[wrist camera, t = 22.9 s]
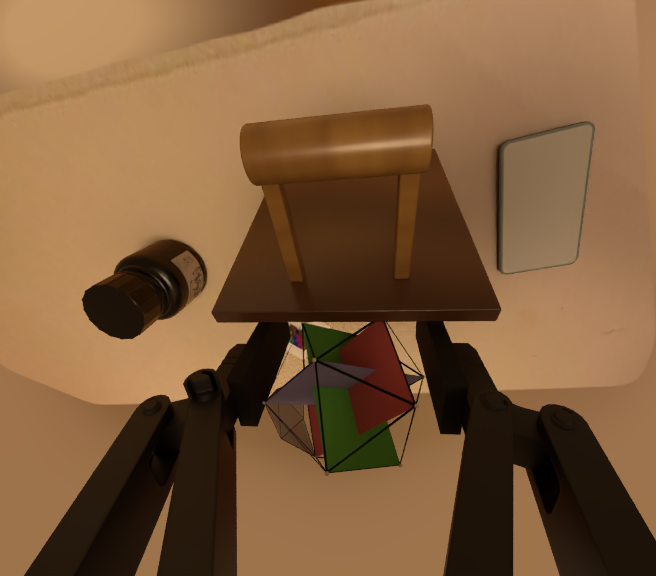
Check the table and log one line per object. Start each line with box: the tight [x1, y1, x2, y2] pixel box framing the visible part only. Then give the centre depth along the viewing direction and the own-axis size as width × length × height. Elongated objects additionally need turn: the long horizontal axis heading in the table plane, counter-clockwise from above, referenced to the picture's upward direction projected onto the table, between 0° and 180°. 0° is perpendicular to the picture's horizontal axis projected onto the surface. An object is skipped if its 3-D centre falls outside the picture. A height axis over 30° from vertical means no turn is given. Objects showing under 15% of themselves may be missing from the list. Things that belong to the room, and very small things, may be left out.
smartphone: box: [499, 122, 595, 274], centre depth 32 cm, size 8×1×15 cm
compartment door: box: [212, 104, 501, 323], centre depth 16 cm, size 16×13×8 cm
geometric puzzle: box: [262, 322, 424, 476], centre depth 14 cm, size 7×7×8 cm
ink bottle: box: [82, 240, 206, 339], centre depth 37 cm, size 10×9×12 cm
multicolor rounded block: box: [288, 322, 306, 352], centre depth 44 cm, size 4×3×2 cm, turn 57°
